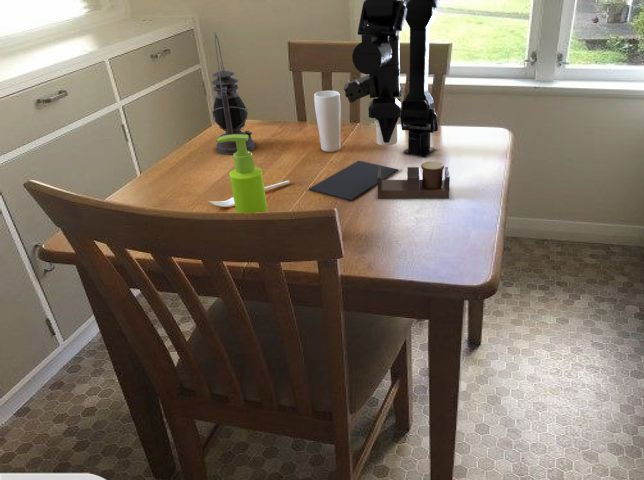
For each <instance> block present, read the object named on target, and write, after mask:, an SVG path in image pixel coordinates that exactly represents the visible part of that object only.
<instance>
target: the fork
mask: <svg viewBox="0 0 644 480" xmlns="http://www.w3.org/2000/svg"><path fill="white" fill-rule="evenodd" d="M288 184H291V181H290V180H285V181H281V182H278V183H275V184H271V185H266V186H264V189H265V192H266V191H269V190H272V189H276V188H279V187H282V186H285V185H288ZM208 202H209V203H210V204H211V205H213V206H216V207H222V208H232V207H235V203H234V197H233V196H232V197H230V198H228V199H226V200H222V201H217V200H215V201H213V200H208Z"/></svg>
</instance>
